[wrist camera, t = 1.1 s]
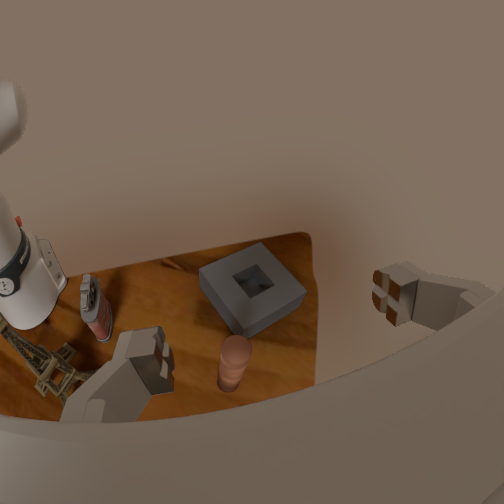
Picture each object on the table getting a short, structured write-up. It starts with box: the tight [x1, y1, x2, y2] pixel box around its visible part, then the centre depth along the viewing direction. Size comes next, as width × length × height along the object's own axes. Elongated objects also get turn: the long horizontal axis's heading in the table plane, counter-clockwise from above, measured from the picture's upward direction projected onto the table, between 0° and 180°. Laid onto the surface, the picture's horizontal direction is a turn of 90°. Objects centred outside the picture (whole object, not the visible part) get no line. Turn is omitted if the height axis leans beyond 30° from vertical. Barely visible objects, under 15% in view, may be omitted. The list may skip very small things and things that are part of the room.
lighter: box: [80, 274, 113, 343], centre depth 37 cm, size 8×3×10 cm, turn 16°
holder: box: [199, 242, 307, 339], centre depth 47 cm, size 13×13×5 cm
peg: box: [217, 335, 252, 392], centre depth 33 cm, size 3×3×14 cm
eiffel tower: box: [0, 312, 99, 409], centre depth 23 cm, size 11×11×25 cm
